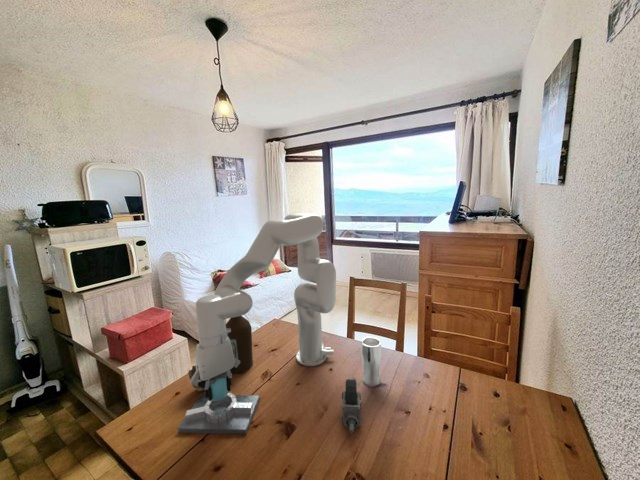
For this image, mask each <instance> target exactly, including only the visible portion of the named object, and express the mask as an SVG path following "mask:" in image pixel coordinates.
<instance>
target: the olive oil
mask: <svg viewBox="0 0 640 480" xmlns="http://www.w3.org/2000/svg"><path fill="white" fill-rule="evenodd" d="M228 319H229V320H228V321H226V329H227V328H230V329H231V332H230V333H228V335H227V336H228V337H229V339H230V342H231V346H232V350H233V355H234V357H236V358H237V359H239V360H240V364H239V365H238V366H237V367H236V370H235V371H234V373H233V374H242V373H246V372H247V371H249V370H250V369H251V368H252V367H253V364H254V363H253V362H254V360H253V342H252V341H253V335H252V333H253V332H252V325H251V322H250V321H249V320H248V319H247V318H245V317H244V316H243V315H242V316H239V317H233V318H228Z"/></svg>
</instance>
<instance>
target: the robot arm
mask: <svg viewBox="0 0 640 480" xmlns="http://www.w3.org/2000/svg"><path fill="white" fill-rule="evenodd" d="M324 224H325V223H324V220H323V218H322V217H321V216H320V215H318V214H316V213H302V212H299V213H296V212H294V213H290V214H287V215H286V216H285V217H284V219H271V220H267V221H266V222H265V223H264V224H263V225H262V227H261V229H260V230H259V233H258V234H257V236H256V237H255V239H254V240H253V242H252V244H251V246H250V247H249V249H248V251H247V253H245V255H244V256H243V257H242V258H241V259H239V260H238V261H236V262H235V264H234V265H232V266H231V267H230V268H229V269H228V270H227V271H226V273H225V274H224V275H223V276H222V278H221V280H220V282H219V284H218V285H217V287H216V288H215V291H214V294H208V295H205V296H202V297H200V298H198V299H197V300H196V302H195V314H196V321H197V322H196V323H197V333H198V340H199V343H197V344H196V348H195V365H196V371H195V373H194V375H193V377H192V378H191V380H190V379H189V383H190V384H191V386H192V385H195V386H199V387H201V388H204V391H203V395H205V398H208V399H209V401H211V400H212V392H211V387H210V386H209V384H210V379H211V378H213V377H215V376H217V375H219V374H222V373H224V372H225V373H227V375H228V376H227V377H226V381H227V391H228V392H231V390H232V389H231V387H232V383H233V382H232V378H233V375H234V374H235V373H234V371H235V370H236V367H237V366H238V365H239V364H240V360H239V359H237V358H236V357H234V355H233V350H232V346H231V342H230V339H229V337H228V336H227V335H228V333H230V332H231V329H230V328H227V329H226V323H227V320H226V319H230V318H233V317H239V316H242V317H243V316H245V315H247V313H249V312H250V311H251V309H252V308H253V298H252V296H251V295H250V294H249V293H247V292H245V291H243V290H241V286H243V284H244V282H246V280H247V279H249V278H250V277H251V276H253V275H256V274H258V273H261V272H263V271H265V270H267V269H268V268H269V267H270V266H271V264H272V262H273V260H274V259H275V257H276V255H277V253H278V251H279V250H280V248H281V246H286V247H292V246H296V247H297V275H298V277H299V278H300V279H301V280H304V281H306V282H303V283H300V284H299V285H297V287H295V289H294V293H293V298H294V303H295V307H296V312H297V313H296V314H297V326H298V328H297V330H298V345H299V347H298V348H299V350H298V351H297V353H296V355H295V358H296V359H295V360H296V361H297V363H299V364H300V365H302V366H306V367H315V366H318V365H321V364H323V363H324V362H325V361H326V360H327V356H334V350H333V349H331V346H330V347H326V346H324V343H323V330H322V329H323V328H322V325H323V324H322V315H321V314H328V313H330V312H331V311H333V309H334V307H335V303H336V295H337V294H336V293H337V290H336V289H337V272H336V268H335V265H334V263H333V262H332V261H330V260H328V259H324V258H321V257H320V256H321V255H320V244H319V240H318V237H319V236H321V234H322V232H323V230H324ZM309 282H310V283H309ZM313 283H314V284H313ZM199 376H200V379H201V380H198V378H199Z"/></svg>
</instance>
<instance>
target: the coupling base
mask: <svg viewBox="0 0 640 480" xmlns="http://www.w3.org/2000/svg"><path fill="white" fill-rule="evenodd" d="M259 402H260V395H259V394H258V395H255V394H253V395H251V394H250V395H249V394H234V393H232V392H228V393H227V395H226V397H225V398H223V399H221V400H219V401H213V400H211V401H209V399H208V398H205V395H204V394H200V396H199V397H198V398H197V399H196V401H195V403H194V404H193V405H192V407H191V409H188V410H186V412H185V417H184V419H183V420H182V421H181V423H180V424H179V426H177V433H178V434H214V435H215V434H218V435H220V434H221V435H223V434H224V435H247V433H248V431H249V429H250V425H251V423H252V421H253V418H254V415H255V413H256V410H257V407H258V405H259Z"/></svg>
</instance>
